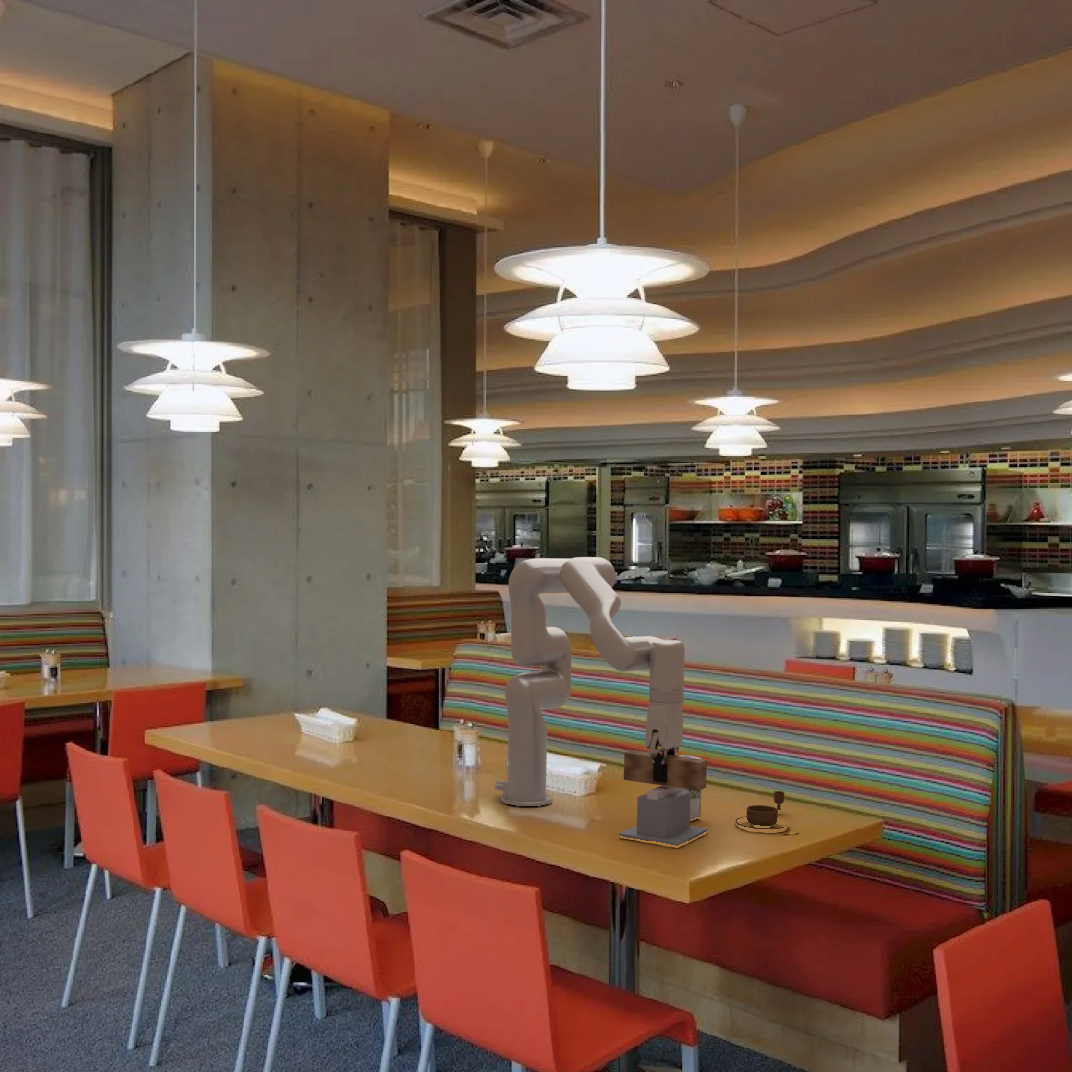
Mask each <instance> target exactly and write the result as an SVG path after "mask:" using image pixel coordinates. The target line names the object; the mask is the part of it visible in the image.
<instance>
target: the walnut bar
mask: <svg viewBox="0 0 1072 1072" xmlns="http://www.w3.org/2000/svg"><path fill="white" fill-rule="evenodd" d="M623 754H624V755H623V758H624V759H623V780H624V781H630V782H636V783H643V784H650V785H656V786H669V787H676V788H683V789H689V790H696V791H699V790H701V791H702V790H704V789H707V773H708V772H707V768H708V767H707V761H708V760H707V759H703V758H701V759H696V758H688V757H681V755H677V756H673V755H667V756H666V764H668V766H667V782H666V783H661V782H655V781H653V763H652V756H651V755H650V754H649V751H643V750H642V751H641V750H630V751H626V752H624V753H623ZM660 754H661V756H662V753H660Z"/></svg>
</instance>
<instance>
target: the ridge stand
mask: <svg viewBox="0 0 1072 1072" xmlns="http://www.w3.org/2000/svg"><path fill="white" fill-rule="evenodd" d="M690 795H691V792H688V791H681V788H676V787H669V786H662V785H659V786H657V787H655V788H652V789H650V790H647V791H646V793H644V794H643V795H640V796H637V800H636V801H637V803H636V805H637V806H636V812H637V813H636V814H637V815H636V825H635V826H633V827H631V828H628V829H626V830H623V831H621V832H619V834H618V837H619V836H623V837H627V838H633V839H640V840H645V841H656V842H661V843H666V844H671V845H676V846H678V845H680V844H682V843H685V842H686V841H690V840H692V839H693V838H696V837H698V836H699V835H701V834H703V833H704V832H706V831H707V832H708V828H703V827H697V826H691V822H690Z"/></svg>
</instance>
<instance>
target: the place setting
mask: <svg viewBox="0 0 1072 1072" xmlns="http://www.w3.org/2000/svg"><path fill="white" fill-rule="evenodd" d="M773 801H774V803H775V804H776V807H775V806H774V807H773V806H770V805H761V804H759V805H758V804H756V805H755V804H753V805H748V806H747V807H746V816H745V817H747V820H748V823H749V824H750V823H751V824H750V825H752V824H753V825H760V826H771V825H773V826H774V825H777V824H776V822H777V818H778V819H779V817H778V816H779V815H778V810H781V811H782V809H781V805H782V804H784V801H785V792H784V791H781V790H775V791H773ZM743 817H744V816H741V817H738V818H736V819H735V822H736V823H737V824H738V825H741V826H744V827H749V828H754V829H780V828H784V827H782V826H781V827H776V828H775V827H774V828H772V826H771V828H755V827H753V825H752V826H749V825H744V824H739V823H738V822H737V820H738V819H740V818H743ZM736 823H735V824H736ZM786 826H787V825H786Z"/></svg>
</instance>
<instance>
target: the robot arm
mask: <svg viewBox="0 0 1072 1072" xmlns="http://www.w3.org/2000/svg"><path fill="white" fill-rule="evenodd" d="M616 576H617V575H616V570H615V567H614V566H613V565H612V563H611V561H609V560H607V559H605V558H604V557H601V556H600V557H598V556H593V557H592V556H582V557H581V556H580V557H579V556H578V557H572V558H555V557H553V558H550V557H549V558H547V557H546V558H545V557H542V558H541V557H540V558H531V559H525V560H523V561H520V562H518V563H517V565H516V566H514V568H513V569H512V571H511V573H510V575H509V577H508V596H509V600H510V612H511V614H510V617H511V618H510V620H511V621H510V627H511V628H510V629H511V630H510V634H511V635H510V643H511V644H510V645H511V646H510V648H511V649H510V650H511V657H512V660H513V663H515V664H516V665H518V666H519V667H525V668H526V667H527V668H531V667H541V668H540V669H541V670H539V671H527V672H522V673H521V672H520V673H518V674H515V675H514V676H512V677H511V678H510V679H509V680H508V681H507V683H506V685H505V690H504V697H505V704H506V709H507V710H506V711H507V724H508V727H507V728H508V730H507V732H508V733H507V735H508V736H507V741H508V742H507V743H508V744H507V745H508V746H507V780H506V781H504V780H497V781H496V784H495V786H494V789H495V790H499V791H502V792H503V793H502V795H500V802H501V803H503V804H504V805H507V804H511V805H516V806H515V807H519V806H538V807H542V806H541V805H545V806H547V805H546V804H548V805H551V804H552V802H553V797H552V796H551V795H550V794H547V763H548V762H547V760H548V759H547V755H548V753H547V752H548V728H547V723H546V721H545V719H544V716H543V714H542V711H546V710H553V709H558V708H559V709H560V708H562V707H563V706H565V705H566V704H567V703H568V702H569V699H570V697H571V693H572V648H571V642H570V640H569V637H568V635H567V634H566V632H564V630H562V629H561V628H559V627H556V626H547V624H546V623H547V622H546V621H547V620H546V618H547V617H546V616H547V611H546V608H545V605H544V602H543V600H542V598H541V597H540V594H563V593H564V594H565V593H566V594H569V595H570V596H571V597H572V599H573V600H574V601H575V603H576V604H577V605H578V606H579V608H580V609H581V610H582V612H584V614H585V616H587V618H588V619H589V631H590V637H591V638H590V639H591V641H592V644H593V646H594V648H595V649H596V650H597V652H598V654H599V655H600V656H601V657H602V658H603V659H604V661H606V663H607V664H608V665H609V666H610V667H612V669H614V670H615V671H618V672H624V673H625V672H633V671H634V672H635V671H646V670H649V682H648V683H649V687H648V688H649V691H648V703H649V704H648V707H647V708H648V709H647V715H646V722H645V723H646V724H645V736H644V737H645V739H644V742H645V743H644V745H645V746H644V747H645V748H646V749H649V750H648V752H649V754H650V755H651V756H652V763H653V781H655V782H661V783H666V782H667V766H668V764H666V756H667V755H673V756H678V753H679V749H680V748H681V746H682V744H683V740H684V738H683V737H684V718H683V717H684V715H683V705H684V699H685V698H684V695H685V694H684V693H685V692H684V691H685V657H686V656H685V654H686V653H685V650H686V649H685V645H684V643H683V642H682V641H680V640H677V639H662V638H659V637H656V636H651V635H644V636H643V635H642V636H638V635H637V636H627V637H626V636H625V637H624V636H623V634H622V633H621V632H620V631H619V630H618V628H616V626H615V624H614V623H613V621H612V619H613V617H614V616H615V615H616V614H617V613H618V612H619V610H620V607H621V603H622V602H621V598H620V597H619V595H618V594H617V592H616V591H615V590H614V589H613V587H614V585H615V584H616V578H617V577H616ZM658 747H659V748H658ZM661 754H662V756H661ZM511 805H510V806H511Z"/></svg>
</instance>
